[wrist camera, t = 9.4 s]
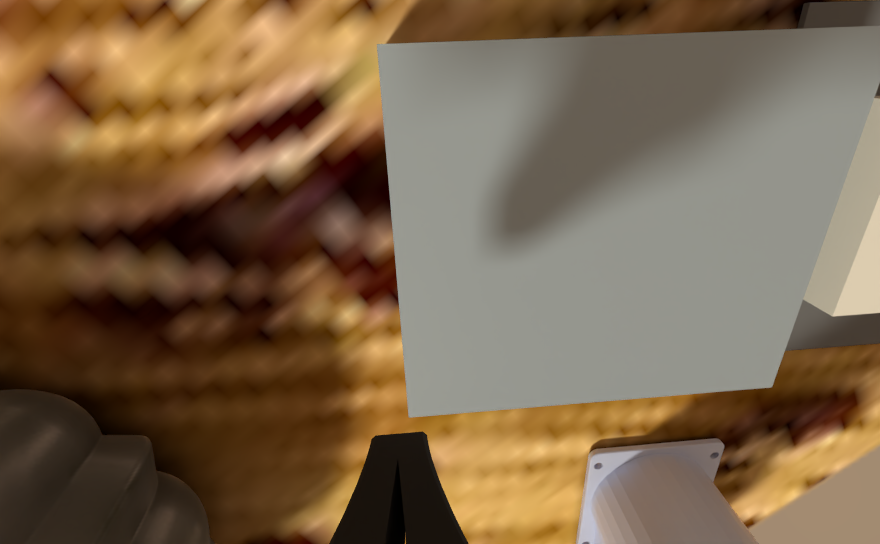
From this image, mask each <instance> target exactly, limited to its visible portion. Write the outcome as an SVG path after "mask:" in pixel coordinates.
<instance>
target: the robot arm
mask: <svg viewBox="0 0 880 544" xmlns="http://www.w3.org/2000/svg"><path fill="white" fill-rule="evenodd" d="M723 450H724V444H723V443H722V442H721V440H719V439H716V438H713V439H701V440H690V441H679V442H668V443H656V444H645V445H634V446H623V447H611V448H600V449H594V450H593V451H591V452H590V453H589V456H588V463H587V470H586V477H585V483H584V490H583V497H582V504H581V511H580V518H579V525H578V532H577V539H576V544H758V542H757V541H756V539H755V538H754V537H753V535H752V534H751V533H750V531H749V530H748V529H747V527H746V526H745V525H744V523H743V522H742V521H741V519H740V518H739V517H738V515H737V514H736V513H735V511H734V510H733V509H732V507H731V506H730V505H729V503H728V502H727V501H726V499H725V498H724V496H723V495H722V494H721V492H720V491H719V490H718V488H717V487H716V486H715V484H714V483H713V482H714V478H715V475H716V472H717V469H718V466H719V463H720V460H721V457H722V453H723ZM596 463H597V464H596ZM405 532H406V544H468V542H467V540H466V538H465V536H464V534H463V532H462V530H461V528H460V526H459V524H458V522H457V520H456V518H455V516H454V514H453V511H452V509H451V507H450V505H449V502H448V500H447V498H446V495H445V493H444V491H443V488H442V486H441V483H440V481H439V478H438V476H437V473H436V470H435V467H434V464H433V461H432V457H431V454H430V450H429V445H428V440H427V435H426V434H425V433H424V432H414V433H402V434H390V435H378V436H375V437H374V438H373V439H372V440H371V444H370V448H369V452H368V455H367V458H366V461H365V464H364V467H363V470H362V472H361V475H360V477H359V480H358V483H357V485H356V487H355V490H354V492H353V494H352V497H351V499H350V501H349V504H348V506H347V508H346V511H345V513H344V515H343V517H342V519H341V521H340V523H339V525H338V527H337V529H336V531H335V533H334V535H333V537H332V539H331V541H330V543H329V544H405Z"/></svg>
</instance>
